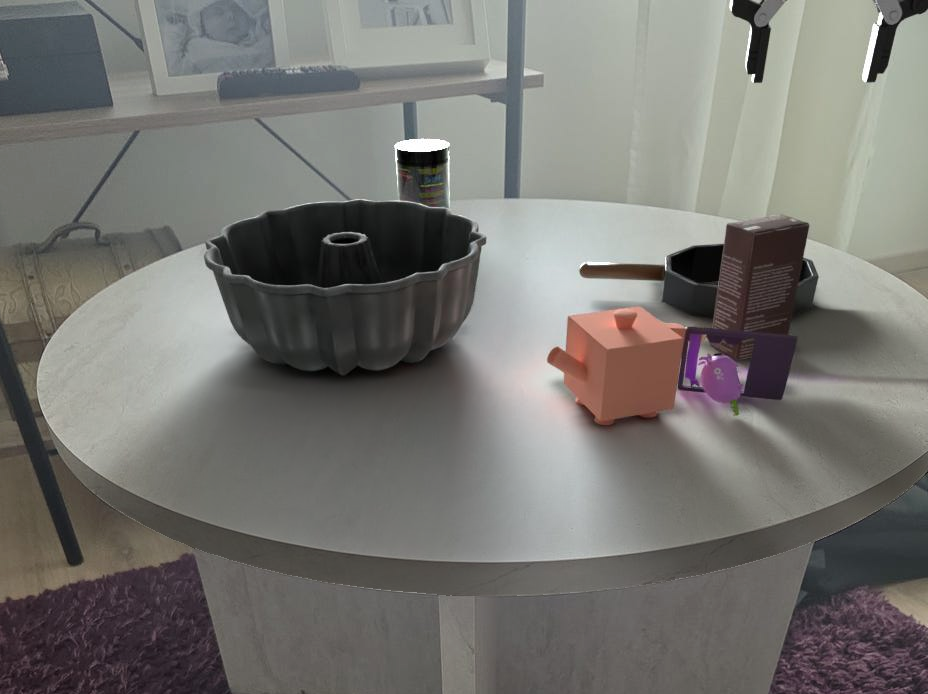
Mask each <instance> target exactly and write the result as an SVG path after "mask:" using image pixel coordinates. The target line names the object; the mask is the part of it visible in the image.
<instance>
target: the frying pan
mask: <svg viewBox="0 0 928 694" xmlns="http://www.w3.org/2000/svg"><path fill="white" fill-rule="evenodd" d="M723 248H724V243H712V244H697V245H691V246H688V247H685V248H683V249H680V250H678V251H675V252H673V253H670V254H667V255H666V256H664V257H665V258H664V263H663V264H656V263H655V264H653V263H652V264H651V263H624V262H623V263H622V262H592V261H586V262H583V263H582V264H581V265H580V267H579V269H578V272H579V275H580V277H582V278H583V279H595V280H596V279H599V280H622V281H623V280H624V281H625V280H626V281H647V282H648V281H649V282H650V281H651V282H661V288H660V303H662V304H663V303H664V304H668V305H669V306H671V307H673V308H675V309H678V310H679V311H682V312H683V313H685V314H687V315H689V316H692V317H699V318H705V319H711V320H714V313H715V306H716V298H717V291H718V285H712V283H719V277H720V269H721V262H722V254H723ZM819 278H820V277H819V273H818V271H817V269H816V266H815V263H814V261H813V260H812V259H808V258H806V257H804V256H803V262H802V266H801V271H800V277H799V282H798V288H797V293H796V298H795V302H794V308H793V313H792V318H794V317H795V316H796V315H798V314H800V313H803V312H804V311H806V310H808V309H812V307H813V304H814V299H815V294H816V290H817V286H818V282H819ZM708 283H709V284H708ZM710 283H711V284H710Z"/></svg>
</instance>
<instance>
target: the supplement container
mask: <svg viewBox="0 0 928 694" xmlns="http://www.w3.org/2000/svg"><path fill="white" fill-rule="evenodd" d="M394 150H395V152H394V153H395V165H396V184H397V186H396V187H397V201H408V202H414V203H419V204H423V205H426V206H428V207H436V208H448V209H450V210H451V202H450V143H449V142H447V141H445V140H440V139H430V138H429V139H428V138H427V139H424V138H421V139H419V138H418V139H409V140H403V141H400V142H397V143H396V144H395V145H394Z"/></svg>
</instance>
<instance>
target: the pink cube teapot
mask: <svg viewBox="0 0 928 694" xmlns="http://www.w3.org/2000/svg"><path fill="white" fill-rule="evenodd" d="M685 333H686V326H684V325H682V324H681V323H679V322H662V321H661V320H659V319H658V318H657V317H656V316H654V315H653V314H652V313H650V312H649V311H647V310H646V309H644V308H643V307H641V306H640V305H637V306H631V307H623V308H616V309H615V308H614V309H608V310H599V311H594V312H586V313H580V314H571V315H568V316H567V320H566V339H565V350H564V349H563V348H561V347H560V346H555V347H553V348H552V349H551V350H550V352H549V353H548V355H547V357H546V361H547V364H549V365H550V366H552V367H553V368H556V369H557V370H559V371H561V372H563V385H564V386H565V388H567V389H568V390H569V391H570V392H571V393H572V394H573V395H574V396H575V397H576V398H575V403H576V404H578V405H581V406H585V407H586V408H587V409H588V410H589V411H590V412H591V413H592V414H593V415H594V417H595V418H594V422H595V424H597V425H602V426H609V425H612V424H614V423H615V420H616V419H622V418H628V417H634V416H640V417H643V418H647V419H648V418H655V417H657V416H658V412H664V411H670V410H674V408H675V401H676V395H677V390H678V388H677V387H678V379H679V372H680V364H681V356H682V350H683V345H684V339H685Z"/></svg>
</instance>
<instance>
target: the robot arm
mask: <svg viewBox="0 0 928 694" xmlns="http://www.w3.org/2000/svg"><path fill="white" fill-rule="evenodd" d="M787 1H788V0H760V1H759V2H757V1H754V0H730V2H729V9H730V11H731V14H732V15H733V17H734V18H739V19H741V20H743V21H746V22H747V23H748V24H749V26H750V28H749V29H750V30H749V36H748V43H747V50H746V55H745V62H744V66H745V69H746V71H745V72H746V73H747V75H751V82H752V84H762V83H763V81H764V75H765V68H766V62H767V56H768V51H769V50H768V49H769V45H770V37H771V31H772V28H771V26H770V22H771V20H772V19H773V18H774V16H775V15H776V14H777V13H778V12H779V10H780V9H781V8H782V7H783V5H784V4H785V3H786V2H787ZM871 1H872V3H873V5H874V8H875V10H876V12H877V14H878V19H877V22H874V23H873V25H872V29H871V35H870V39H869V44H868V47H867V52H866V57H865V62H864V66H863V70H862V76H861V77H862V78H861V79H862V81H863V82H864V83H876V81H877V79H878V75H879V74H881V75H882V74H884V73H885V72H886V70H887V69H888V67H889V62H890V60H891V59H890V58H891V54H892V50H893V46H894V41H895V38H896V33H897V30H898V27H899V25H900V24H901V23H902V22H903V21H904V20H907V19H908V18H910V17H914V16H915V15H922V14H924V13H926V12H927V11H928V0H871Z"/></svg>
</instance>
